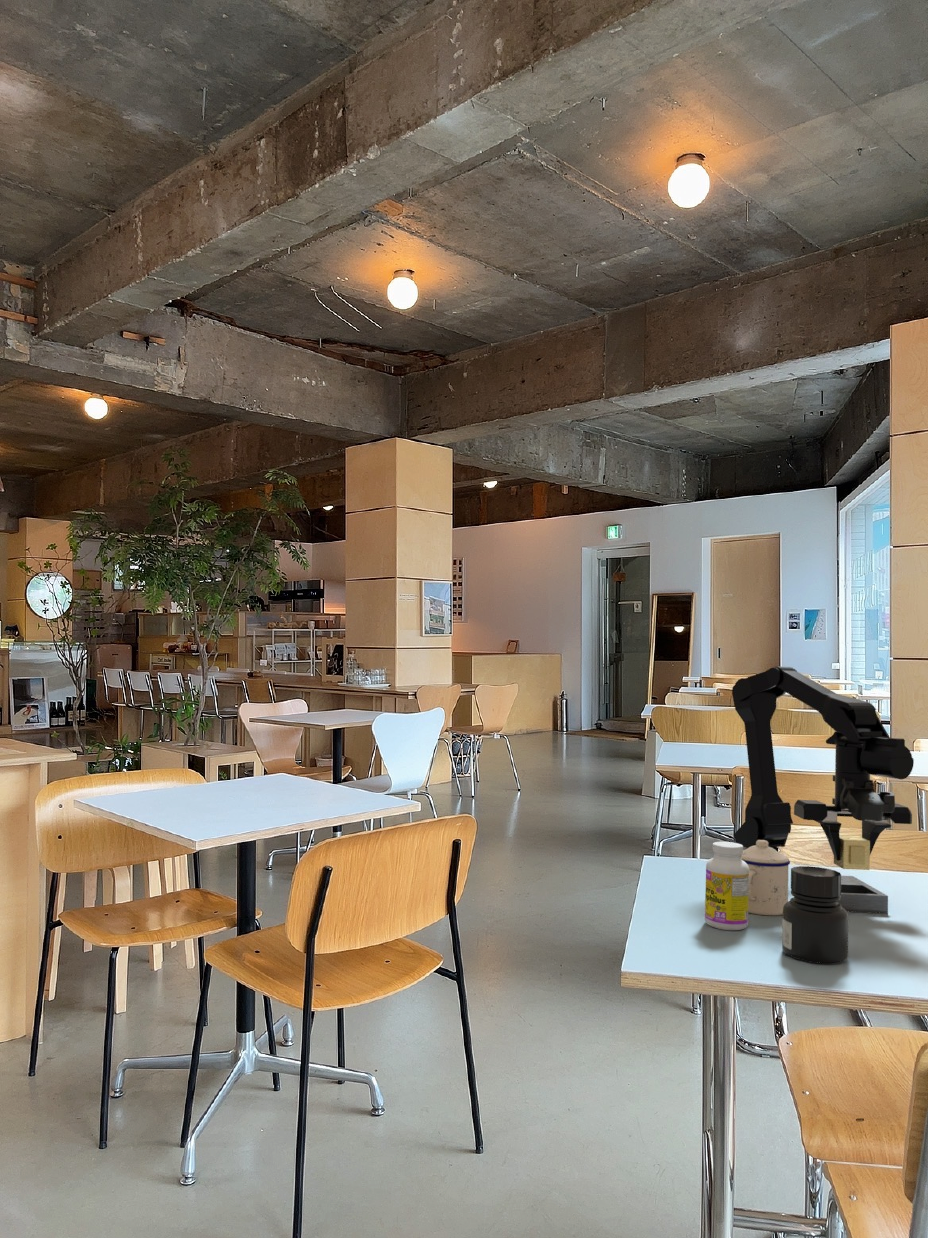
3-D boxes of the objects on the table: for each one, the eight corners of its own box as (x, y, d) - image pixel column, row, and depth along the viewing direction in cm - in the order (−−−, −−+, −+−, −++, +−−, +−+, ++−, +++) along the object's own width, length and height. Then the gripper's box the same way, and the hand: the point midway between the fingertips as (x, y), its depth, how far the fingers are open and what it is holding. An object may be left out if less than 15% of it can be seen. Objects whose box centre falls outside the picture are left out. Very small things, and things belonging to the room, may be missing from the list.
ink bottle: (799, 942, 137) (800, 861, 138) (858, 956, 131) (859, 872, 132) (770, 955, 130) (771, 870, 131) (831, 971, 124) (832, 882, 125)
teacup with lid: (745, 899, 162) (746, 833, 163) (796, 909, 157) (797, 841, 157) (718, 912, 153) (719, 842, 154) (772, 923, 147) (773, 850, 148)
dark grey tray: (834, 911, 156) (835, 894, 156) (804, 890, 171) (804, 874, 171) (887, 913, 156) (888, 896, 156) (852, 892, 171) (852, 876, 171)
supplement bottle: (696, 921, 147) (697, 841, 148) (730, 918, 149) (731, 839, 150) (722, 933, 141) (723, 849, 141) (757, 930, 143) (758, 847, 144)
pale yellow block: (844, 869, 158) (844, 840, 158) (832, 862, 163) (833, 834, 164) (870, 870, 158) (871, 841, 158) (857, 863, 163) (858, 835, 163)
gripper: (815, 775, 154) (814, 869, 153) (927, 780, 153) (926, 873, 152) (793, 768, 165) (792, 855, 164) (897, 772, 164) (896, 859, 163)
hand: (851, 861), depth 161 cm, fingers closed on pale yellow block, 4 cm apart
